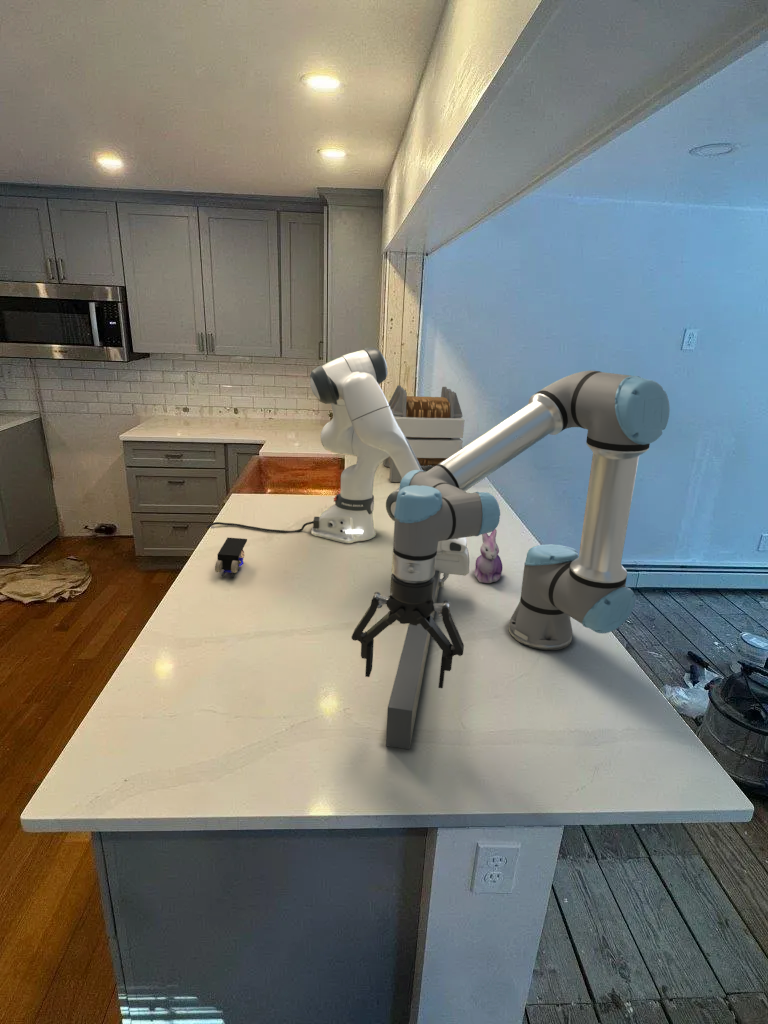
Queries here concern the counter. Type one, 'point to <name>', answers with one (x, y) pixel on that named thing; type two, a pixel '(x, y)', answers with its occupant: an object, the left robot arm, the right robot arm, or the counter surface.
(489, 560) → the figurine
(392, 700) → the post
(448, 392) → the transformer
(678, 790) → the counter surface
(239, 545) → the black wheeled block
